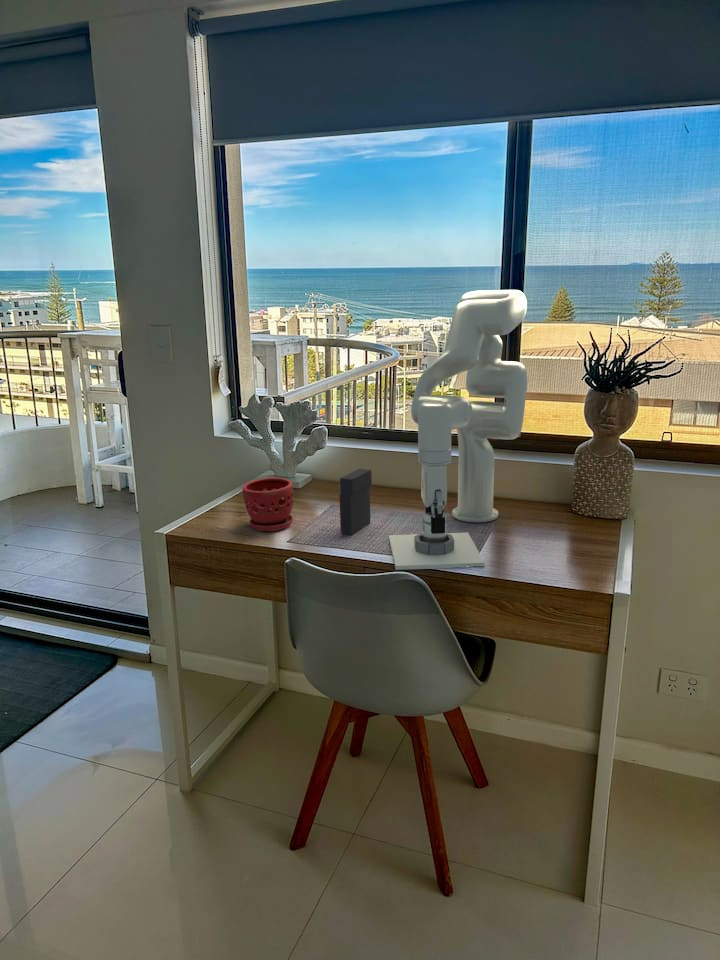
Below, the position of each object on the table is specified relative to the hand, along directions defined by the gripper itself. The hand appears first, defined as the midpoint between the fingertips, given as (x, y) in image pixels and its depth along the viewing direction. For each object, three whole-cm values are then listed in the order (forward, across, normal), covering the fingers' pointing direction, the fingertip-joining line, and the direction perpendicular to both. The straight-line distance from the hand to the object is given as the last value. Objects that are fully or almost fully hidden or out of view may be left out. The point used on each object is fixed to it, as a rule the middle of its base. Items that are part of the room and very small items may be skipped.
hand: (435, 525), depth 161 cm
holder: (+6, +1, 0) cm, 6 cm away
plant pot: (+7, -22, -41) cm, 47 cm away
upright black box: (+7, -18, -18) cm, 27 cm away
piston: (+5, 0, 0) cm, 5 cm away
